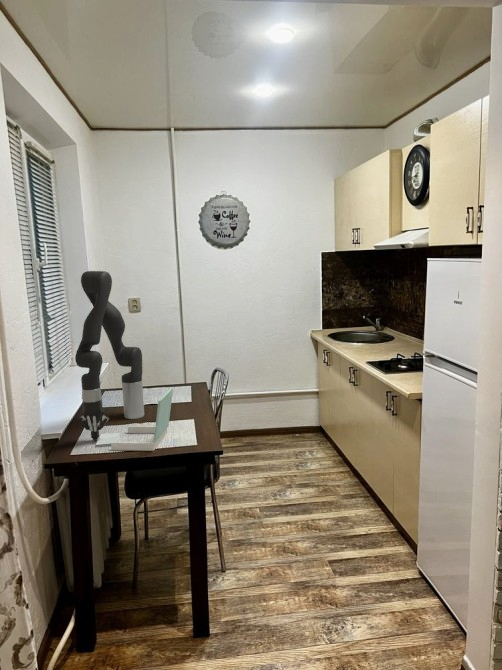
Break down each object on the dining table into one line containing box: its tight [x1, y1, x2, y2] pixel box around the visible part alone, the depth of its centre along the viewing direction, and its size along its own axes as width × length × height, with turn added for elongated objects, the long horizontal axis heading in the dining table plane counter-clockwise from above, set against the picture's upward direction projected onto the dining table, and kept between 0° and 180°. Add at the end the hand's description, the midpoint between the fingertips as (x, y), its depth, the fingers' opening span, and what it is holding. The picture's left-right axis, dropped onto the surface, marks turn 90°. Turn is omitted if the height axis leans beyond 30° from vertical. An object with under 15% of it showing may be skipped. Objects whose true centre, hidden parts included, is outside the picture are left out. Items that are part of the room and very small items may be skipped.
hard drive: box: [94, 432, 122, 448], centre depth 199 cm, size 2×8×12 cm
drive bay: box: [110, 425, 168, 452], centre depth 198 cm, size 19×17×3 cm
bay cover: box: [153, 387, 174, 443], centre depth 195 cm, size 18×17×1 cm
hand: (95, 439), depth 200 cm, fingers closed
